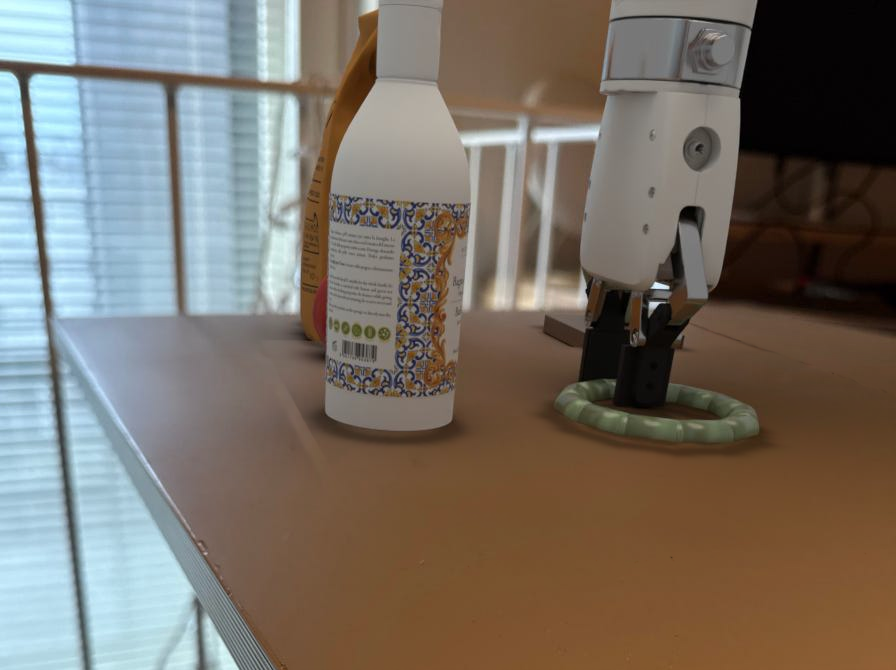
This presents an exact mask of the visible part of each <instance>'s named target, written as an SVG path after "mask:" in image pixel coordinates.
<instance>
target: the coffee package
mask: <svg viewBox="0 0 896 670" xmlns="http://www.w3.org/2000/svg"><path fill="white" fill-rule="evenodd" d="M378 13H379V8H377V9H374V10H372V11H370V12H367V13H363V14H361V15H359V16H357V20H358V21H357V27H358V30H359V35H358V38H357V41H356V43H355V47H354V50H353V51H352V54H351V57H350V60H349V61H348V64H347V65H346V67H345V71H344V72H343V73H344V74H343V76H342V78H341V81H340V83H339V86H338V88H337V90H336V92H335V95H334V97H333V99H332V101H331V104H330V108H329V111H328V114H327V117H326V120H325V125H324V129H323V133H322V141H321V147H320V151H319V155H318V157H317V161H316V165H315V168H314V172H313V175H312V179H311V183H310V186H309V189H308V193H307V198H306V201H305V209H304V210H305V211H304V212H305V213H304V224H303V234H302V242H301V243H302V244H301V255H300V256H301V259H300V281H299V282H300V283H299V284H300V287H299V288H300V292H299V293H300V294H299V295H300V298H299V299H300V301H299V303H300V304H299V305H300V306H299V312H300V320H301V325H302V328H303V331H304V334H305V336H306V338H307V339H308V340H310V341H312V342H322V341H321V340H320V338H319V336H318V334H317V332H316V330H315V328H314V324H313V316H312V311H313V301H314V298H315V295H316V291H317V289H318V287H319V285H320V283H321V282H322V280H323V279H324V278H325V276H326V275H327V274H328V234H329V193H330V191H331V180H332V173H333V168H334V163H335V160H336V156H337V153H338V150H339V147H340V144H341V142H342V140H343V137H344V135H345V133H346V131H347V129H348V127H349V126H350V124H351V122H352V120H353V119H354V117H355V115H356V114H357V112H358V110H359V109H360V107H361V105H362V104H363V102H364V101H365V99H366V97H367V96H368V94H369V92H370V91H371V89H372V88H373V86H374V84H375V83H376V79H378V77H377V75H376V66H377V37H378Z"/></svg>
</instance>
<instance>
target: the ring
mask: <svg viewBox="0 0 896 670" xmlns="http://www.w3.org/2000/svg"><path fill="white" fill-rule="evenodd" d="M616 380H617V379H597V380H591V381H586V382H580V383H578V382H574V383H570V384H568V385H566V386H565V387H564V388H563V389H562V391H561V392H560V393H559V395H558V396H557V397H556V399H555V401H554V403H553V409H554V410H555V411H557V412H559V413H560V414H562V415H563V416H564V417H566V418H567V419H569V420H571V421H572V422H575V423H577V424H581V425H585V426H588V427H592V428H594V429H598V430H601V431H605V432H609V433H612V434H616V435H620V436H627V437H633V438H642V439H649V440H656V441H665V442H671V443H682V444H683V443H687V444H689V443H690V444H691V443H692V444H693V443H694V444H696V443H699V444H700V443H708V444H709V443H711V444H712V443H714V444H715V443H733V442H734V443H735V442H738V441H741V440H744V439H747V438H751V437H755V436H758V435H759V434H760V423H759V417H758V413H757V411H756V409H755V408H754V407H753V406H751V405H749V404H747V403H745V402H742V401H740V400H738V399H735V398H733V397H731V396H730V395H727V394H724V393H721V392H717V391H712V390H708V389H703V388H699V387H695V386H692V385H691V386H690V385H688V384H687V385H686V384H679V383H672V382H669V384H668V390H667V395H666V400H665V403H674V404H679V405H682V406H683V405H684V406H686V407H691V408H696V409H699V410H703V411H707V412H709V413H711V414H713V415H715V416H717V417H718V418H720V419H673V418H666V417H665V418H664V417H658V416H657V417H656V416H650V415H642V414H635V413H629V412H625V411H621V410H618V409H613V408H610V407H606V406H602V405H599V404H595V403H592V402H597V401H603V400H609V399H613V398H614V392H615V386H616Z"/></svg>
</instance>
